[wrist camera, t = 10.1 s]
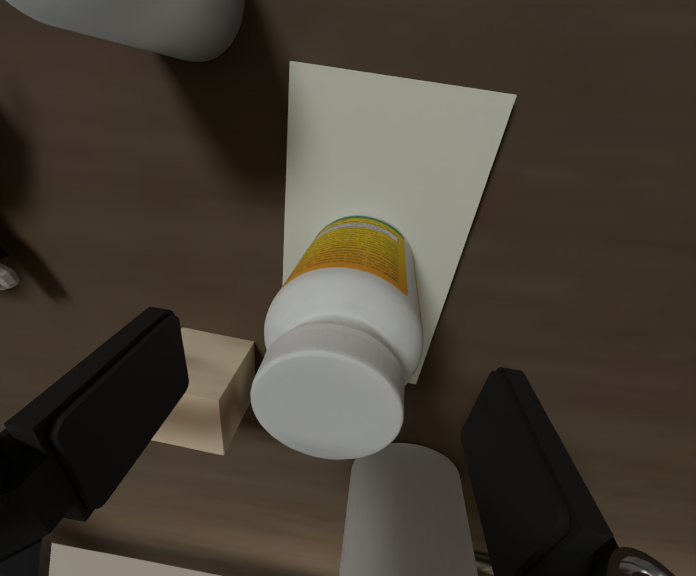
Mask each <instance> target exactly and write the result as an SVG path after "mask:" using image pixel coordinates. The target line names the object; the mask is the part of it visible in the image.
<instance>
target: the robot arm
mask: <svg viewBox="0 0 696 576" xmlns="http://www.w3.org/2000/svg"><path fill="white" fill-rule="evenodd" d="M188 385H189V377H188V371H187V365H186V358H185V352H184V346H183V340H182V334H181V328H180V322H179V318H178V317H177V316H175V315H174V313H173V311H171V310H167V309H161V308H155V307H149V308H148V309H146V310H145V311H143V312H142V313H141V314H140V315H138V316H137V317H136V318H135V319H134V320H132V321H131V322H130V323H129V324H127V325H126V326H125V327H124V328H122V329H121V330H120V331H119V332H117V333H116V334H115V335H114V336H112V337H111V338H110V339H109V340H107V341H106V342H105V343H104V344H102V345H101V346H100V347H99V348H97V349H96V350H95V351H94V352H93V353H91V354H90V355H89V356H88V357H86V358H85V359H84V360H83V361H81V362H80V363H79V364H78V365H76V366H75V367H74V368H73V369H71V370H70V371H69V372H68V373H66V374H65V375H64V376H63V377H61V378H60V379H59V380H58V381H56V382H55V383H54V384H53V385H51V386H50V387H49V388H48V389H47V390H45V391H44V392H43V393H42V394H40V395H39V396H38V397H37V398H35V399H34V400H33V401H32V402H30V403H29V404H28V405H27V406H25V407H24V408H23V409H22V410H20V411H19V412H18V413H17V414H15V415H14V416H13V417H12V418H10V419H9V420H8V421H7V422H5V423H4V425H5V427H6V429H4V430H3V431H2V432H1V433H0V576H49V564H50V554H51V543H52V532H53V529H54V528H55V527H56V525H57V524H58V523H59V522H60V520H61V519H62V518H68V519H73V520H79V521H84V522H86V520H87V519H88V518H89V516H90V515H91V514H92V512H93V511H94V510H95V509H98V508H100V507H102V506H103V505H104V504H105V503H106V501H107V500H108V499H109V498H110V496H111V495H112V493H113V492H114V491H115V489H116V488H117V486H118V485H119V484H120V482H121V481H122V480H123V478H124V477H125V475H126V474H127V473H128V471H129V470H130V468H131V467H132V466H133V464H134V463H135V462H136V460H137V459H138V457H139V456H140V455H141V453H142V452H143V450H144V449H145V448H146V446H147V445H148V444H149V442H150V441H151V439H152V438H153V437H154V435H155V434H156V433H157V431H158V430H159V428H160V427H161V426H162V424H163V423H164V421H165V420H166V419H167V417H168V416H169V415H170V413H171V412H172V410H173V409H174V408H175V406H176V405H177V403H178V402H179V401H180V399H181V398H182V397H183V395H184V394H185V392H186V391H187V388H188ZM461 440H462V445H463V449H464V453H465V457H466V462H467V466H468V470H469V474H470V478H471V482H472V486H473V491H474V495H475V499H476V503H477V507H478V511H479V515H480V519H481V524H482V528H483V532H484V536H485V540H486V544H487V548H488V553H489V557H490V561H491V565H492V569H493V573H494V576H675V575H674V574H673V573H672V572H670V571H669V570H668V569H667V568H666V567H665V566H663V565H662V564H661V563H660V562H658V561H657V560H655V559H654V558H652V557H651V556H649V555H647V554H646V553H644V552H641V551H639V550H636V549H634V548H629V547H620V548H619V547H618V545H617V543H616V541H615V539H614V538H613V534H612V532H611V530H610V528H609V527H608V525H607V523H606V521H605V519H604V518H603V516H602V514H601V512H600V510H599V508H598V507H597V505H596V503H595V501H594V499H593V498H592V496H591V494H590V492H589V490H588V489H587V487H586V485H585V483H584V481H583V479H582V478H581V476H580V474H579V472H578V470H577V469H576V467H575V465H574V463H573V461H572V459H571V458H570V456H569V454H568V452H567V450H566V449H565V447H564V445H563V443H562V441H561V440H560V438H559V436H558V434H557V432H556V430H555V429H554V427H553V425H552V423H551V421H550V420H549V418H548V416H547V414H546V412H545V411H544V409H543V407H542V405H541V403H540V401H539V400H538V398H537V396H536V394H535V392H534V391H533V389H532V387H531V385H530V383H529V381H528V380H527V378H526V376H525V374H524V373H523V372H522V371H520V370H514V369H508V368H503V367H500V368H498V369H497V370H496V371H492V372H491V373H490V374H489V376H488V378H487V380H486V382H485V384H484V386H483V388H482V390H481V392H480V394H479V396H478V399H477V401H476V403H475V405H474V407H473V409H472V411H471V413H470V415H469V417H468V419H467V421H466V423H465V425H464V427H463V429H462V433H461Z"/></svg>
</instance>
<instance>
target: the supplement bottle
mask: <svg viewBox="0 0 696 576" xmlns="http://www.w3.org/2000/svg"><path fill="white" fill-rule="evenodd" d="M264 338H265V345H266V349H267V352H266V354H265V356H264V359H263V361H262V363H261V365H260V367H259V369H258V371H257V373H256V376H255V378H254V380H253V383H252V387H251V392H250V394H251V404H252V408H253V411H254V413H255V415H256V417H257V419H258V421H259V422H260V424H261V425H262V426H263V427H264V428H265V430H266V431H267V432H268V433H269V434H271V435H272V436H273V437H274V438H275V439H277V440H279V441H280V442H281V443H283V444H284V445H286V446H288V447H290V448H292V449H294V450H297V451H299V452H302V453H304V454H308V455H310V456H314V457H318V458H325V459H332V460H334V459H339V460H341V459H355V458H362V457H365V456H368V455H371V454H374V453H376V452H378V451H380V450H382V449H383V448H385V447H386V446H388V445H389V444H390V443H391V442H392V441H393V440H394V439H395V438H396V436H397V435H398V433H399V432H400V429H401V427H402V424H403V419H404V390H405V385H406V384H407V383H408V382H409V381H410V380H411V378H412V377H413V375H414V374H415V372H416V370H417V368H418V366H419V364H420V361H421V358H422V354H423V347H424V337H423V326H422V318H421V310H420V303H419V295H418V288H417V279H416V271H415V263H414V257H413V253H412V249H411V247H410V245H409V243H408V241H407V239H406V238H405V236H404V235H403V234H402V233H401V231H400V230H399V229H398V228H397V227H395V226H394V225H393V224H391V223H389V222H387V221H385V220H383V219H381V218H378V217H375V216H372V215H367V214H351V215H346V216H343V217H340V218H337V219H335V220H333V221H332V222H330V223H329V224H327V225H326V226H325V227H324V228H323V229H322V230H321V231H320V232H319V233H318V235H317V236H316V237H315V239H314V240H313V242H312V243H311V244H310V246H309V247H308V249H307V250H306V252H305V254H304V255H303V256H302V258H301V259H300V261H299V262H298V264H297V265H296V267H295V268H294V270H293V271H292V273H291V274H290V276H289V277H288V279H287V280H286V282H285V283H284V285H283V286H282V288H281V289H280V291H279V292H278V294H277V295H276V297H275V298H274V300H273V302H272V304H271V306H270V308H269V310H268V313H267V316H266V320H265V327H264Z"/></svg>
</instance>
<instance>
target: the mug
mask: <svg viewBox="0 0 696 576" xmlns="http://www.w3.org/2000/svg"><path fill="white" fill-rule="evenodd" d="M339 576H478V572H477V567H476V561H475V556H474V550H473V545H472V540H471V534H470V529H469V523H468V518H467V513H466V507H465V502H464V496H463V491H462V486H461V480H460V475H459V472H458V470H457V468H456V467H455V465H454V464H453V463H452V462H451V461H450V460H449V459H448V458H447V457H446V456H444V455H443V454H441V453H439V452H437V451H435V450H433V449H430V448H428V447H424V446H421V445H416V444H410V443H390V444H389V445H388V446H386V447H385V448H383V449H382V450H380V451H378V452H376V453H374V454H371V455H368V456H365V457H362V458H356V459H355V461H354V463H353V465H352V470H351V478H350V486H349V495H348V503H347V512H346V521H345V529H344V538H343V546H342V555H341V563H340V572H339Z"/></svg>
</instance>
